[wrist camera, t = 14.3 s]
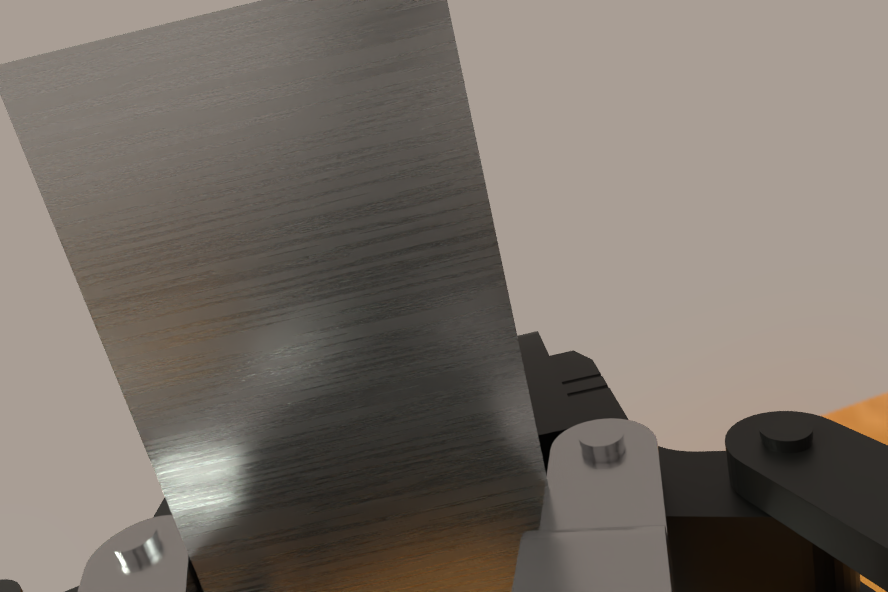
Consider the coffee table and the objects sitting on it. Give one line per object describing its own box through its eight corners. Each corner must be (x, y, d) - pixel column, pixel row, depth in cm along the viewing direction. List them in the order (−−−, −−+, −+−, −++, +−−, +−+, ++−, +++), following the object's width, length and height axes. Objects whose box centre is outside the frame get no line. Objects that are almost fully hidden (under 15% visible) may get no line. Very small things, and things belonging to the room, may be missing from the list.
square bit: (596, 775, 14) (428, 0, 10) (661, 1029, 11) (438, -43, 6) (406, 813, 15) (152, 68, 10) (403, 1078, 11) (-10, 68, 6)
